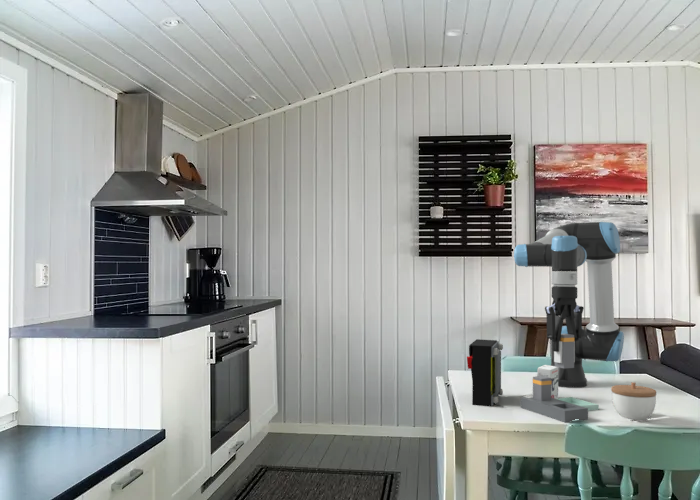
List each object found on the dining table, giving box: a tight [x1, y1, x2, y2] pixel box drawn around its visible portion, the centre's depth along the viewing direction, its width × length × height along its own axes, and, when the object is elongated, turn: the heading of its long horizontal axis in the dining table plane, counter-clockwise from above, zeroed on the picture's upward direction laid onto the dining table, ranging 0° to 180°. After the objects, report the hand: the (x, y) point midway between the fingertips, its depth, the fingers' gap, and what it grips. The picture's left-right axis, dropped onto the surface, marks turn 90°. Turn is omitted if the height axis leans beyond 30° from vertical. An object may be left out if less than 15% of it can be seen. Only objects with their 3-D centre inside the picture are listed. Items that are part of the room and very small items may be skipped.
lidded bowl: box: [610, 381, 657, 422], centre depth 185 cm, size 13×13×11 cm
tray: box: [557, 396, 600, 412], centre depth 197 cm, size 12×12×2 cm
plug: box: [555, 334, 574, 368], centre depth 183 cm, size 4×4×10 cm
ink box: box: [536, 364, 559, 399], centre depth 209 cm, size 8×5×12 cm, turn 144°
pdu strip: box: [520, 375, 589, 424], centre depth 188 cm, size 20×9×11 cm, turn 23°
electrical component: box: [466, 338, 504, 408], centre depth 208 cm, size 18×10×20 cm, turn 160°
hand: (564, 361), depth 183 cm, fingers closed on plug, 4 cm apart
